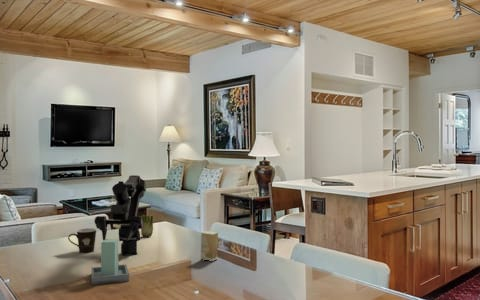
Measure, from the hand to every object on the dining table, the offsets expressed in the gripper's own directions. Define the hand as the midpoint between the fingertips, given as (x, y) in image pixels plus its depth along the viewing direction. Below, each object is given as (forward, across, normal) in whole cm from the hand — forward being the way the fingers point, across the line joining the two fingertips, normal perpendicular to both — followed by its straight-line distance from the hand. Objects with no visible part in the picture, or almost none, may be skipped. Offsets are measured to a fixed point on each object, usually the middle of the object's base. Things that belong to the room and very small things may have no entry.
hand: (115, 240), depth 160 cm
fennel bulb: (-33, +2, +51) cm, 61 cm away
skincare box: (-1, +37, +19) cm, 42 cm away
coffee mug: (-12, -22, +30) cm, 40 cm away
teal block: (+14, 0, +2) cm, 14 cm away
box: (+14, 0, +3) cm, 15 cm away
